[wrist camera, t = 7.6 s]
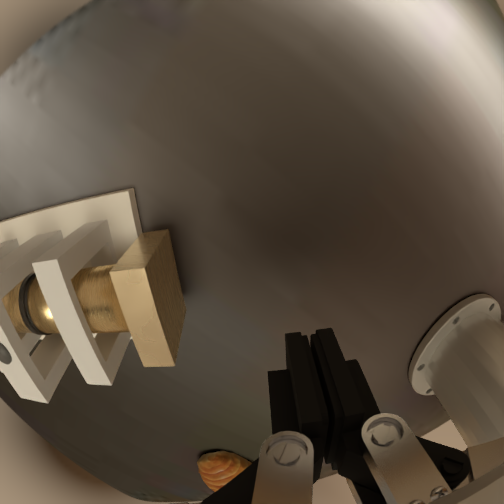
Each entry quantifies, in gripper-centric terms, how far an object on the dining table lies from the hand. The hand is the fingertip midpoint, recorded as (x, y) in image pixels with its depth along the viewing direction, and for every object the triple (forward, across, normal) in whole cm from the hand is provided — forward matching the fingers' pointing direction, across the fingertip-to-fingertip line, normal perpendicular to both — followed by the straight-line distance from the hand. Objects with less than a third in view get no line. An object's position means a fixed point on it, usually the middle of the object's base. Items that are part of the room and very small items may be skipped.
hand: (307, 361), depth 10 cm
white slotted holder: (+8, +15, -1) cm, 17 cm away
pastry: (+10, +8, +27) cm, 30 cm away
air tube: (+7, +14, -1) cm, 15 cm away
